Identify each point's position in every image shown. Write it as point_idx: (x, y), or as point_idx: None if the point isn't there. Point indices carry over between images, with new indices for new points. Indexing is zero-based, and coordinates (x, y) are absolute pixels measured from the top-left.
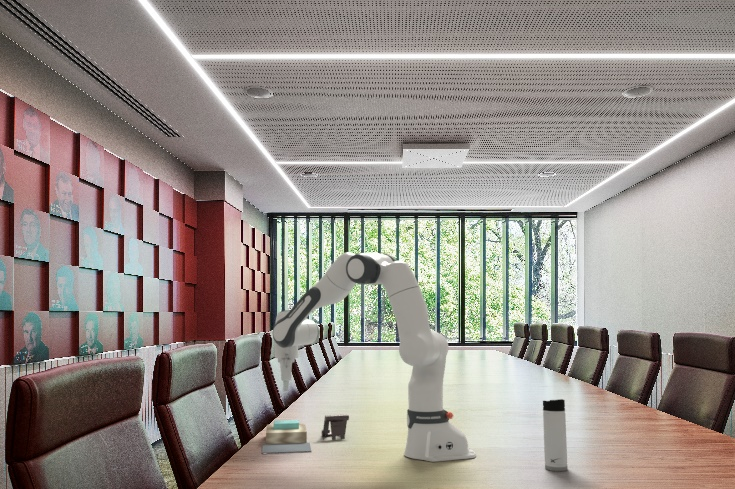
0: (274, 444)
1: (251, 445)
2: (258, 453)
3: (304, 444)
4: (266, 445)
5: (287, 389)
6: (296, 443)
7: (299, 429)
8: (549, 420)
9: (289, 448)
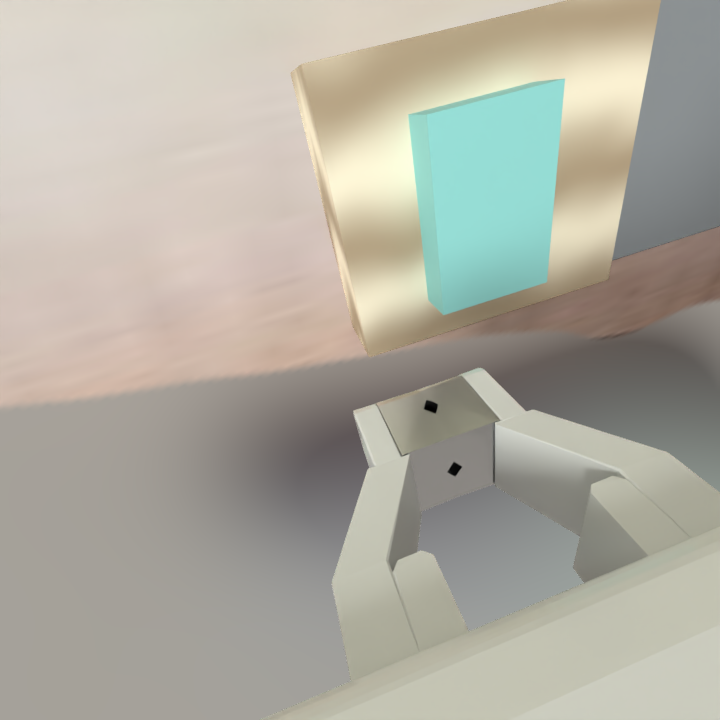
0: None
1: (554, 319)
2: (702, 240)
3: None
4: None
5: (489, 381)
6: None
7: (562, 70)
8: None
9: (711, 99)
